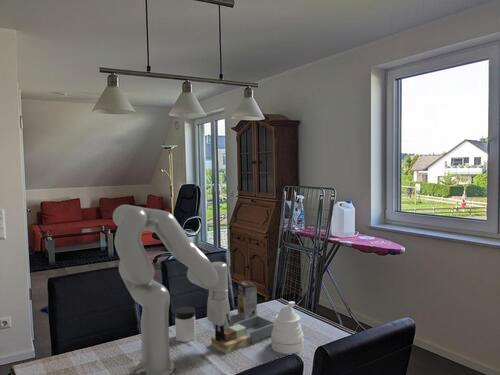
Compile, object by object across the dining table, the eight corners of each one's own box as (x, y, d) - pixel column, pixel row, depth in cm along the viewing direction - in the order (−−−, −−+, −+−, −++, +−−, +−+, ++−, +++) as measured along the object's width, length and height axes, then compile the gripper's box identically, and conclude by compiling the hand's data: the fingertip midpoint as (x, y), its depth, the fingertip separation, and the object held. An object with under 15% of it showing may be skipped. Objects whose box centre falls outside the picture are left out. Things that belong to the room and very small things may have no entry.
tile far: (236, 338, 159) (236, 331, 159) (229, 334, 163) (229, 327, 162) (246, 334, 162) (246, 327, 162) (238, 330, 166) (238, 323, 166)
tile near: (226, 342, 156) (226, 334, 155) (219, 338, 159) (219, 330, 159) (236, 338, 159) (236, 331, 159) (229, 334, 163) (229, 327, 162)
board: (226, 353, 152) (226, 346, 152) (211, 344, 160) (211, 337, 160) (250, 343, 160) (250, 336, 160) (234, 336, 168) (234, 329, 168)
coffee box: (237, 314, 192) (236, 281, 191) (249, 311, 195) (248, 279, 194) (245, 320, 184) (244, 286, 183) (257, 318, 187) (256, 284, 186)
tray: (251, 344, 159) (251, 332, 159) (233, 335, 169) (233, 323, 168) (276, 334, 169) (276, 322, 168) (257, 325, 178) (257, 315, 177)
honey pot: (305, 340, 162) (305, 297, 161) (301, 355, 150) (300, 309, 149) (275, 337, 166) (274, 295, 164) (268, 352, 153) (267, 306, 152)
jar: (180, 344, 161) (179, 315, 161) (172, 337, 168) (171, 309, 167) (199, 338, 166) (199, 310, 165) (191, 331, 173) (190, 304, 172)
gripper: (199, 291, 158) (201, 336, 160) (222, 301, 147) (223, 349, 148) (215, 287, 163) (216, 330, 164) (238, 296, 152) (239, 342, 153)
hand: (219, 339), depth 156 cm, fingers closed
